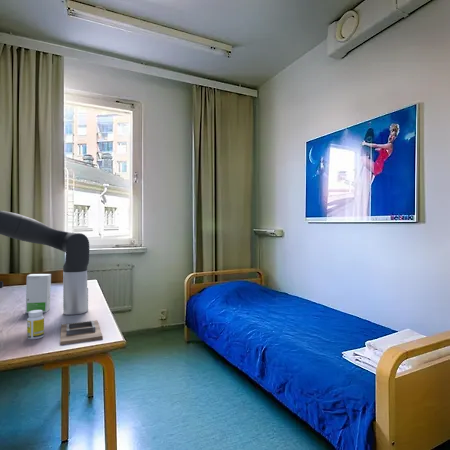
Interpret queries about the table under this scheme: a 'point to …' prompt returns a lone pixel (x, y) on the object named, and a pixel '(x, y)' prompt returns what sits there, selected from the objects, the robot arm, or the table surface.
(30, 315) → the supplement bottle
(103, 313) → the table surface
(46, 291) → the skincare box
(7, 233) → the robot arm
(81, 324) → the seat board
